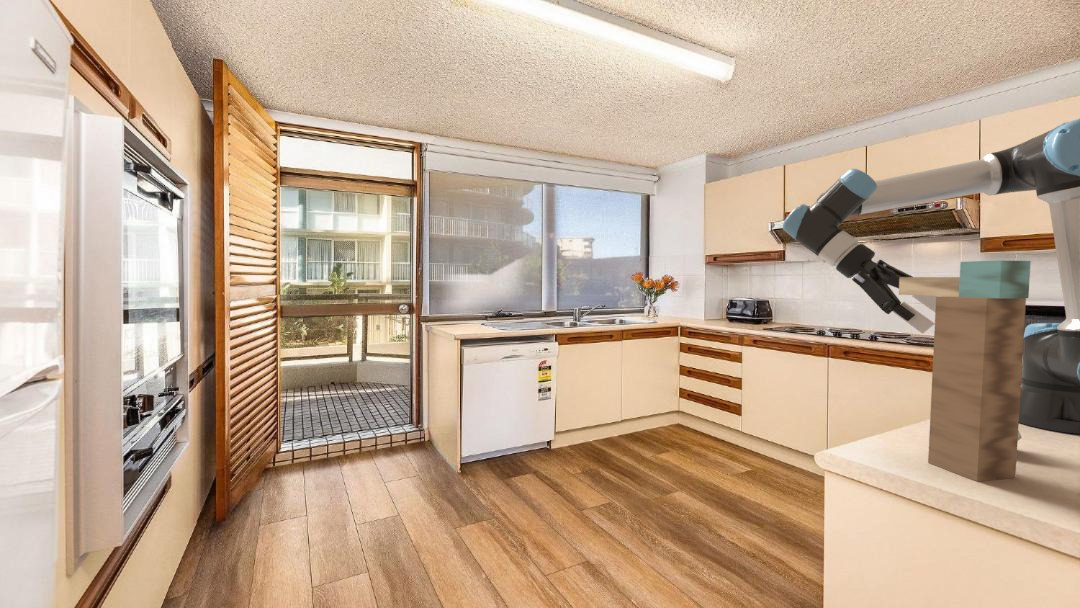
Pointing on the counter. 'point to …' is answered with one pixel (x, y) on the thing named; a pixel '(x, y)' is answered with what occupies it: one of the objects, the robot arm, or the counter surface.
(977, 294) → the mallet
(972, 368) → the stand
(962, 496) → the counter surface
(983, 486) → the counter surface
